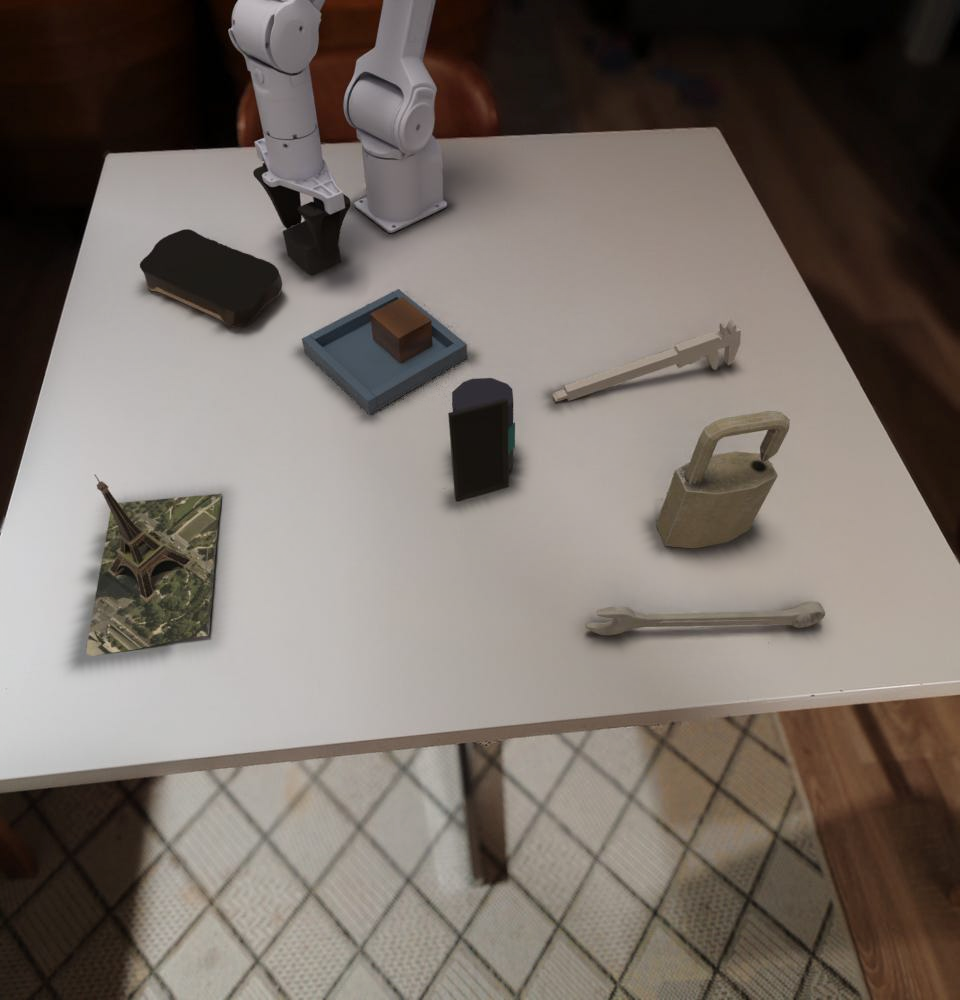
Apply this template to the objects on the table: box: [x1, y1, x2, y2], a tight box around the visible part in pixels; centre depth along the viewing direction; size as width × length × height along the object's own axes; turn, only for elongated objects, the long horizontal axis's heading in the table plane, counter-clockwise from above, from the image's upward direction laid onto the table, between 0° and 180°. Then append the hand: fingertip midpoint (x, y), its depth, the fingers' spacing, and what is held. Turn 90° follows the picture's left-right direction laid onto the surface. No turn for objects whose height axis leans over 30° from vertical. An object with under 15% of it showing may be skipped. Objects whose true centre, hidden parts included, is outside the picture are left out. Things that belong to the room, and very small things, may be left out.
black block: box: [282, 220, 342, 277], centre depth 92 cm, size 4×5×4 cm
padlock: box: [655, 410, 791, 549], centre depth 65 cm, size 4×8×15 cm, turn 103°
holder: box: [301, 288, 468, 415], centre depth 83 cm, size 13×12×2 cm
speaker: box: [447, 377, 516, 502], centre depth 71 cm, size 8×6×10 cm
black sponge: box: [139, 228, 283, 329], centre depth 88 cm, size 16×8×4 cm, turn 59°
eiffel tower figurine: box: [85, 474, 222, 657], centre depth 62 cm, size 15×10×13 cm
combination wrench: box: [585, 601, 826, 636], centre depth 63 cm, size 4×1×20 cm
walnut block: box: [370, 297, 433, 364], centre depth 83 cm, size 4×5×4 cm
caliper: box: [551, 318, 742, 403], centre depth 79 cm, size 20×1×6 cm, turn 107°
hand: (310, 239), depth 91 cm, fingers open, 7 cm apart
